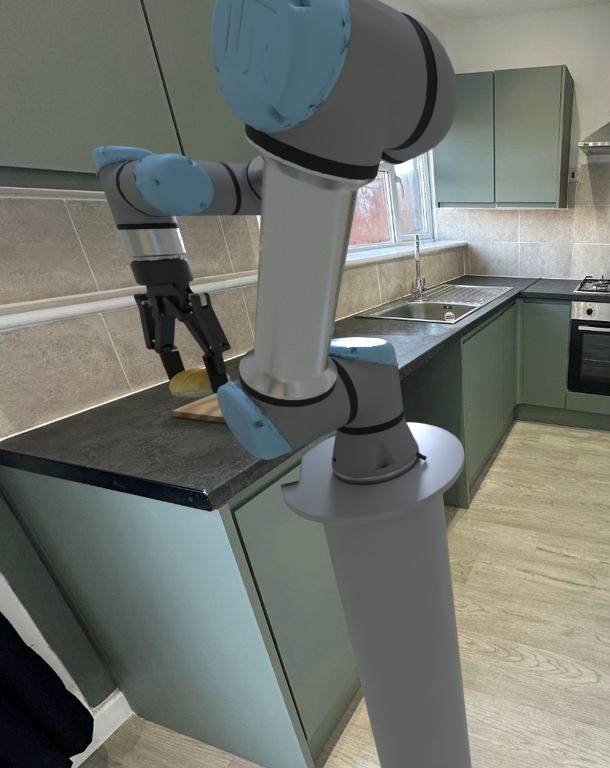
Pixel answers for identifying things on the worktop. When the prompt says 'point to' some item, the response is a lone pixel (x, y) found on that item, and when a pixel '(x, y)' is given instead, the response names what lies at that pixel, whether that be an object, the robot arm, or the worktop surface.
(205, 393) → the bread roll
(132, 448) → the worktop surface
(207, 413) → the cutting board
